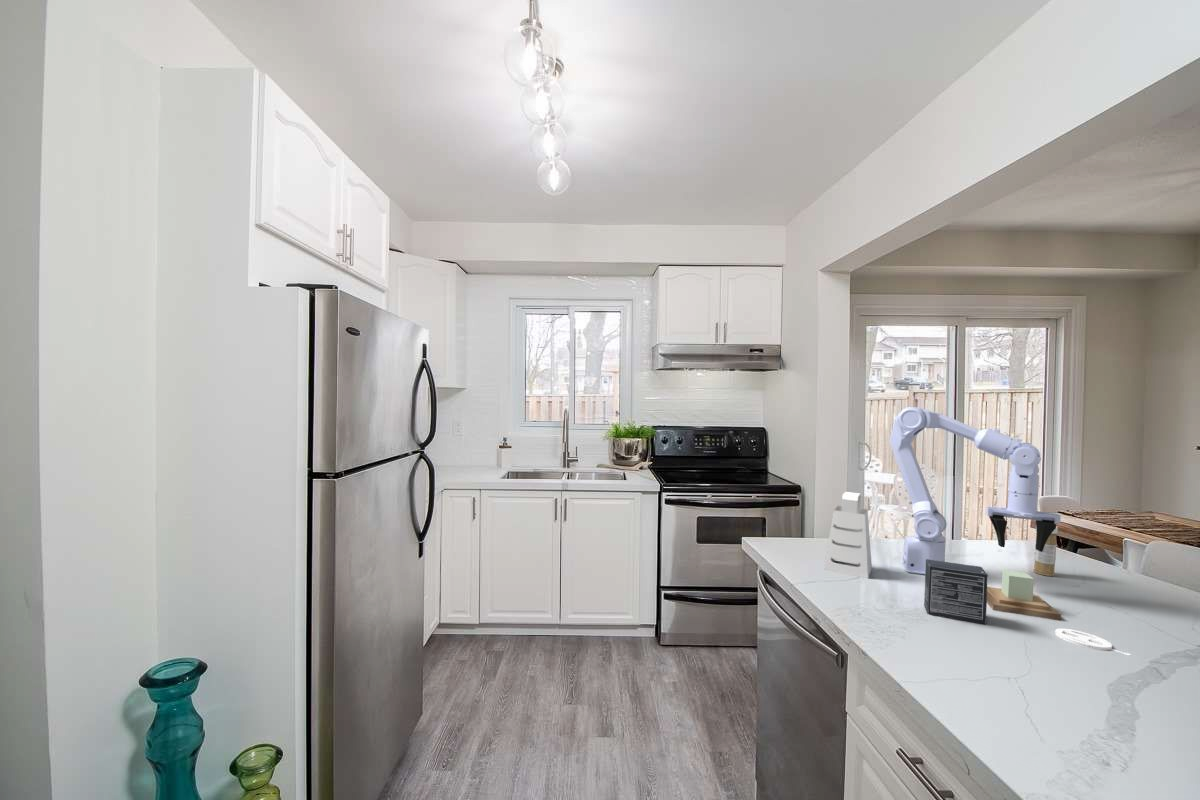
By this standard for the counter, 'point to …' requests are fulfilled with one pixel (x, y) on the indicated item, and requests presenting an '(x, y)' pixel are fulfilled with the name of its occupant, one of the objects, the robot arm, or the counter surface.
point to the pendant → (1084, 639)
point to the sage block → (1017, 585)
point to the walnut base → (1020, 605)
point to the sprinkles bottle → (1046, 556)
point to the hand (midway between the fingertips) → (1020, 548)
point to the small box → (956, 591)
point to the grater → (849, 538)
